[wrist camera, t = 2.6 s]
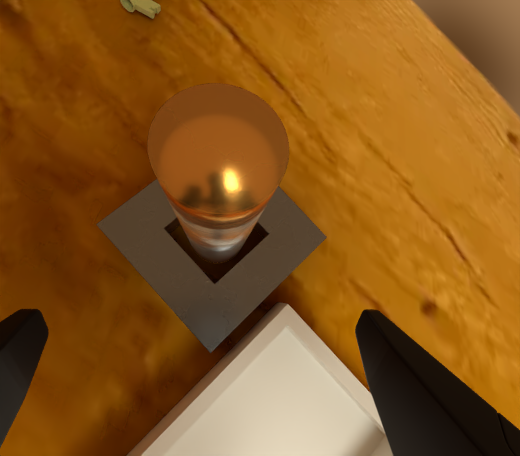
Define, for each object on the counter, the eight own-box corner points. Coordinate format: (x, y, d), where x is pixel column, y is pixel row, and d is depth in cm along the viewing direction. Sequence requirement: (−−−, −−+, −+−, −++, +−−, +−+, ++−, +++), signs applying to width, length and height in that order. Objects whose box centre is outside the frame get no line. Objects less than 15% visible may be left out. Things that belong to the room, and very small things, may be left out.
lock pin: (254, 239, 20) (316, 153, 8) (215, 274, 19) (214, 242, 7) (219, 201, 21) (225, 60, 8) (179, 235, 20) (116, 134, 7)
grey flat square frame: (316, 242, 21) (326, 237, 19) (211, 346, 18) (210, 352, 17) (223, 143, 22) (223, 128, 20) (108, 231, 19) (96, 224, 17)
